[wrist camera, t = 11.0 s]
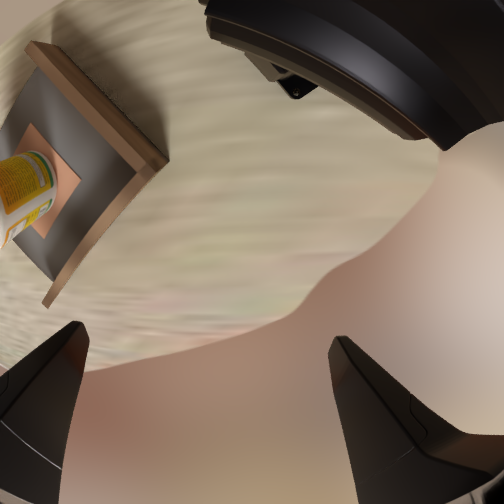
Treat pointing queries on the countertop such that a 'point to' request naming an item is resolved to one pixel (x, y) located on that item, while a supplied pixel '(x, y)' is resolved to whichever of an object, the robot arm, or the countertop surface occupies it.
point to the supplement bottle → (24, 192)
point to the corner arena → (75, 161)
